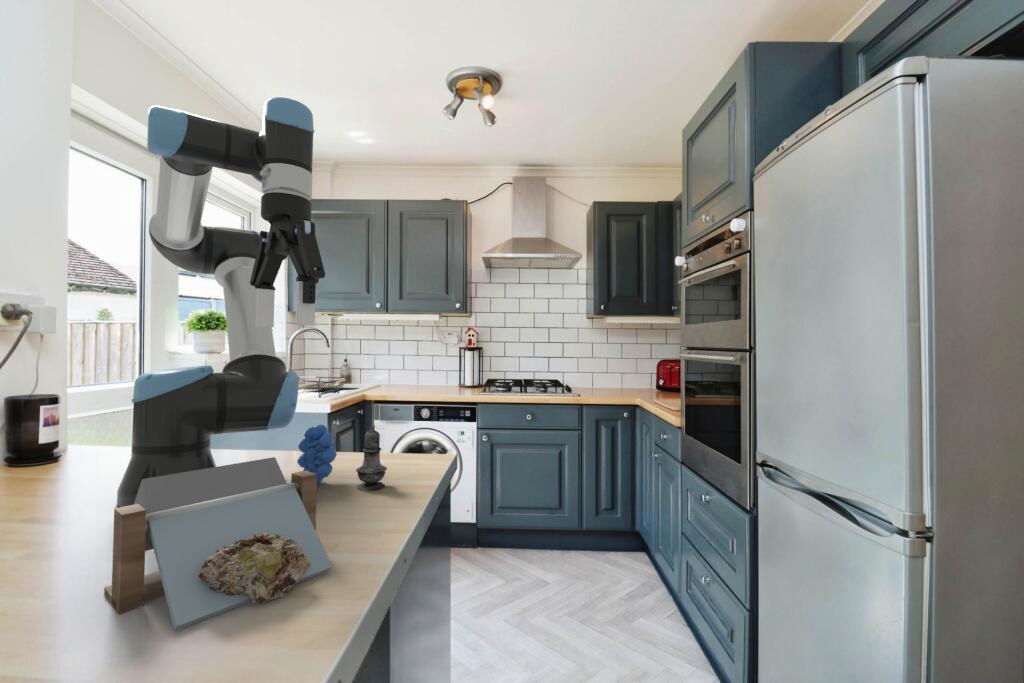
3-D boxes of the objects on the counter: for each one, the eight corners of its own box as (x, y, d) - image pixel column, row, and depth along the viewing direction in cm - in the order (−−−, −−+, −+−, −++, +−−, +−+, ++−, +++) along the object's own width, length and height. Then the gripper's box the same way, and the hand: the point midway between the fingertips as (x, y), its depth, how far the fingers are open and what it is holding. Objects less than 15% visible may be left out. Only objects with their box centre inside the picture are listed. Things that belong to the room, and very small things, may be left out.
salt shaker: (369, 493, 89) (371, 429, 89) (349, 487, 92) (350, 426, 92) (392, 485, 94) (394, 425, 94) (372, 481, 97) (373, 422, 97)
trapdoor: (124, 518, 56) (137, 476, 53) (262, 488, 69) (280, 453, 66) (158, 666, 47) (177, 625, 44) (310, 601, 60) (332, 565, 57)
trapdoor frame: (104, 594, 51) (107, 502, 52) (293, 536, 68) (294, 466, 68) (119, 614, 48) (122, 514, 48) (315, 547, 64) (316, 474, 64)
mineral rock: (307, 519, 58) (320, 569, 51) (297, 549, 58) (308, 600, 52) (203, 524, 51) (204, 581, 45) (194, 557, 52) (194, 618, 46)
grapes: (352, 484, 94) (353, 424, 95) (321, 492, 89) (322, 428, 89) (319, 474, 101) (321, 418, 102) (289, 481, 96) (290, 422, 96)
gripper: (230, 205, 82) (227, 326, 82) (303, 174, 67) (300, 323, 67) (274, 215, 88) (271, 328, 88) (350, 188, 73) (347, 325, 73)
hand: (283, 326), depth 77 cm, fingers open, 13 cm apart
